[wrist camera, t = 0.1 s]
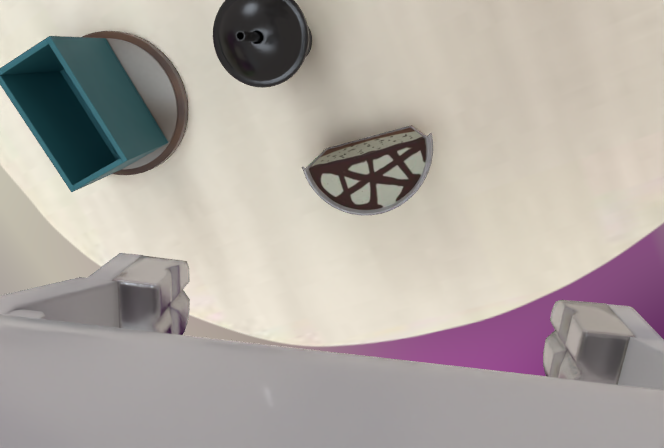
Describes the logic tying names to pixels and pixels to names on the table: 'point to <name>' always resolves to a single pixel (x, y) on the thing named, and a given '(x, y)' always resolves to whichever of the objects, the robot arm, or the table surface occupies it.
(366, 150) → the food container
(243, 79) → the drinking cup
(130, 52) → the disc
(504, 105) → the table surface
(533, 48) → the table surface
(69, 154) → the bin
